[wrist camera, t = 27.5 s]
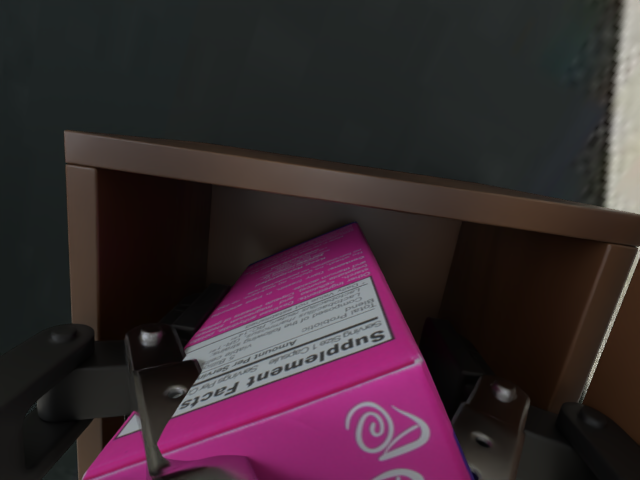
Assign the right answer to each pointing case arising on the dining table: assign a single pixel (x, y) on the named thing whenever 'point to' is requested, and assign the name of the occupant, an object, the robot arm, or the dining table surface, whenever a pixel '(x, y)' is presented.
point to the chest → (329, 214)
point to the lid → (621, 367)
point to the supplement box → (306, 378)
